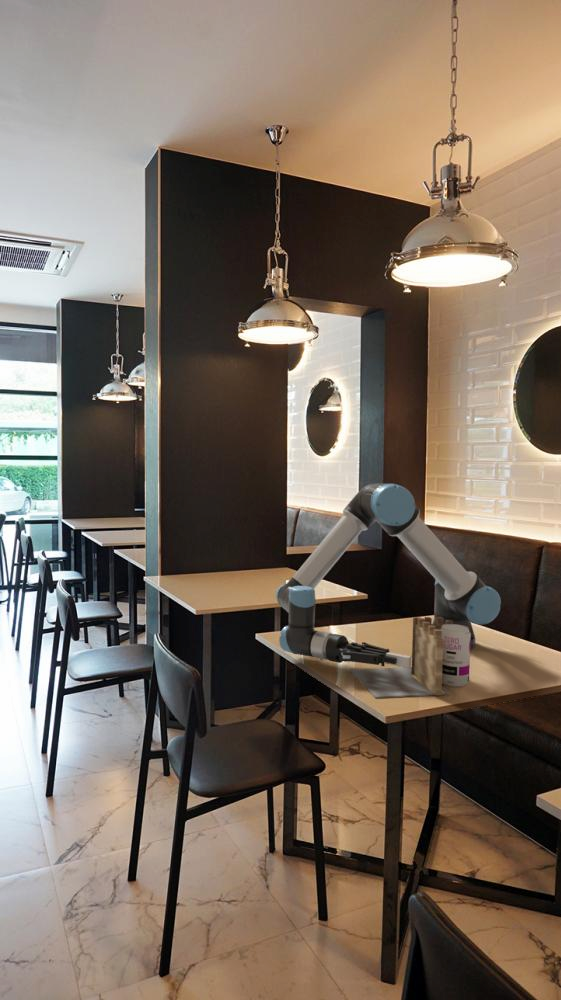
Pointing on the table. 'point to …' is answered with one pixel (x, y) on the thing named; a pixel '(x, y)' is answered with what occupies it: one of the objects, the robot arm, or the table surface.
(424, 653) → the fence panel
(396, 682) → the fence base
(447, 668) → the supplement can
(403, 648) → the table surface
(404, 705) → the table surface
